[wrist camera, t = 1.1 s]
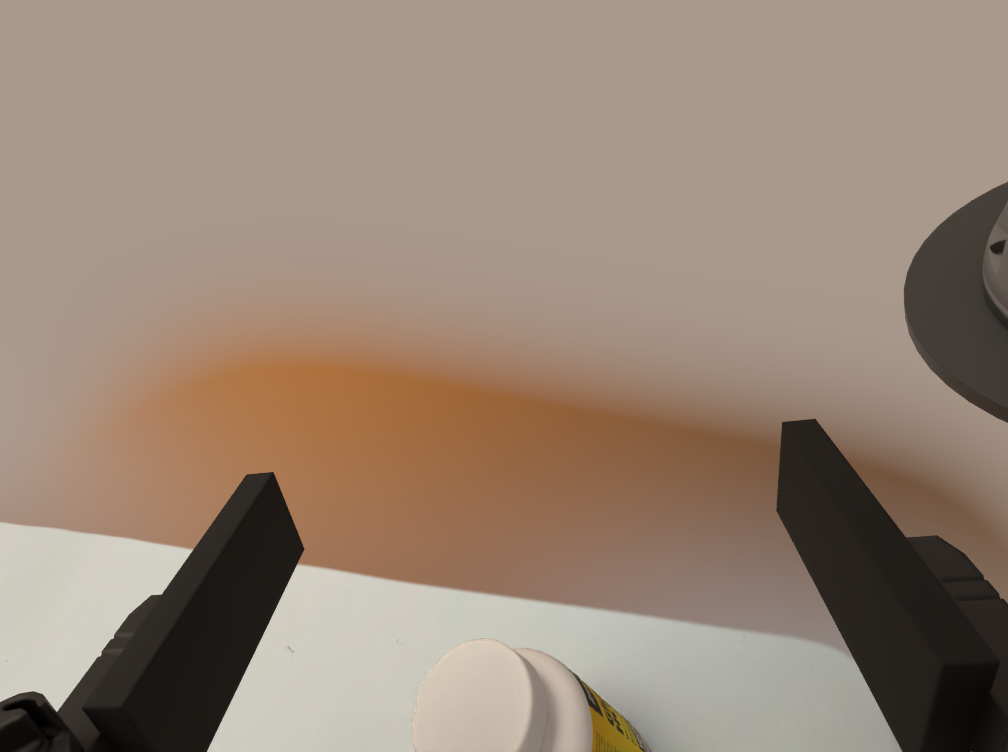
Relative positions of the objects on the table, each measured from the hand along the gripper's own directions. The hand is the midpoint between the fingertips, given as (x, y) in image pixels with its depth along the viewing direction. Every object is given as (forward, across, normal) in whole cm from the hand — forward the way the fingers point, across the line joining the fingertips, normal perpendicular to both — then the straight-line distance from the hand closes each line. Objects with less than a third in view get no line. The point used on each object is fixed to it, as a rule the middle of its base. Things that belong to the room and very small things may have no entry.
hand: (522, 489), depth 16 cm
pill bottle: (+3, 0, -19) cm, 19 cm away
